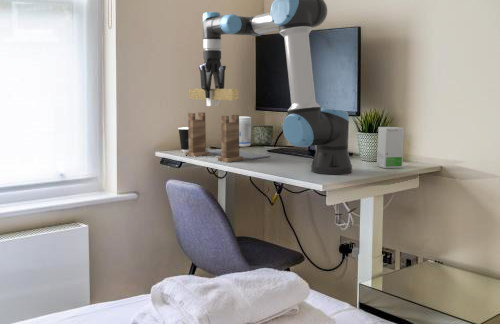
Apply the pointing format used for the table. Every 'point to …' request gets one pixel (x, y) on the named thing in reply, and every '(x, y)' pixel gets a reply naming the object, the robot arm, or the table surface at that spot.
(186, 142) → the dixie cup
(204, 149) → the walnut rail stand
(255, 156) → the charcoal rubber mat
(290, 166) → the table surface
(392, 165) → the skincare box
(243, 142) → the supplement tub
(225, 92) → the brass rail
